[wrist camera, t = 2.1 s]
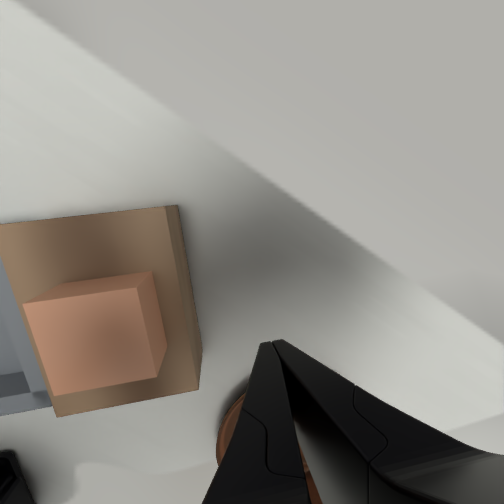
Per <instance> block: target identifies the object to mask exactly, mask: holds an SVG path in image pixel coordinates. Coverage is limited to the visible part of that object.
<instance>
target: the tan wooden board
mask: <svg viewBox="0 0 504 504" xmlns="http://www.w3.org/2000/svg"><path fill="white" fill-rule="evenodd" d="M0 256H1V259H2V262H3V265H4V268H5V271H6V274H7V276H8V279H9V282H10V285H11V288H12V291H13V294H14V296H15V299H16V302H17V305H18V308H19V311H20V314H21V317H22V319H23V322H24V325H25V328H26V331H27V334H28V337H29V339H30V342H31V345H32V348H33V351H34V354H35V357H36V359H37V362H38V365H39V368H40V371H41V374H42V377H43V380H44V382H45V385H46V388H47V391H48V394H49V397H50V400H51V402H52V405H53V408H54V411H55V414H56V417H62V416H68V415H73V414H78V413H83V412H88V411H93V410H98V409H103V408H108V407H114V406H119V405H124V404H129V403H134V402H139V401H144V400H149V399H154V398H160V397H165V396H170V395H175V394H180V393H185V392H190V391H195V390H199V381H200V371H201V361H202V352H203V350H202V344H201V338H200V332H199V326H198V321H197V315H196V309H195V303H194V298H193V292H192V286H191V280H190V275H189V269H188V263H187V257H186V252H185V246H184V240H183V234H182V229H181V223H180V217H179V211H178V205H172V206H163V207H154V208H145V209H136V210H127V211H118V212H109V213H99V214H90V215H81V216H72V217H63V218H54V219H45V220H36V221H27V222H18V223H9V224H0ZM149 271H152V274H153V279H154V284H155V288H156V293H157V298H158V303H159V307H160V312H161V317H162V322H163V327H164V331H165V336H166V341H167V349H166V352H165V355H164V358H163V361H162V364H161V367H160V369H159V372H158V375H157V377H155V378H149V379H144V380H139V381H133V382H128V383H122V384H117V385H112V386H106V387H101V388H96V389H90V390H85V391H80V392H74V393H69V394H63V395H58V396H54V395H53V392H52V389H51V386H50V383H49V380H48V377H47V375H46V372H45V369H44V366H43V363H42V360H41V357H40V354H39V351H38V348H37V345H36V343H35V340H34V337H33V334H32V331H31V328H30V325H29V322H28V319H27V316H26V314H25V311H24V308H23V305H22V304H23V303H25V302H27V301H29V300H31V299H33V298H35V297H36V296H38V295H40V294H42V293H44V292H46V291H48V290H50V289H52V288H54V287H55V286H57V285H59V284H62V283H69V282H77V281H84V280H91V279H98V278H105V277H113V276H120V275H127V274H134V273H141V272H149Z"/></svg>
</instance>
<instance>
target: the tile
mask: <svg viewBox="0 0 504 504" xmlns="http://www.w3.org/2000/svg"><path fill="white" fill-rule="evenodd" d="M22 305H23V308H24V311H25V314H26V316H27V319H28V322H29V325H30V328H31V331H32V334H33V337H34V340H35V343H36V345H37V348H38V351H39V354H40V357H41V360H42V363H43V366H44V369H45V372H46V375H47V377H48V380H49V383H50V386H51V389H52V392H53V395H54V396H58V395H63V394H69V393H74V392H80V391H85V390H90V389H96V388H101V387H106V386H112V385H117V384H122V383H128V382H133V381H139V380H144V379H149V378H155V377H157V375H158V372H159V369H160V367H161V364H162V361H163V358H164V355H165V352H166V349H167V341H166V336H165V331H164V327H163V322H162V317H161V312H160V307H159V303H158V298H157V293H156V288H155V284H154V279H153V274H152V271H149V272H141V273H134V274H127V275H120V276H113V277H105V278H98V279H91V280H84V281H77V282H69V283H62V284H59V285H57V286H55V287H54V288H52V289H50V290H48V291H46V292H44V293H42V294H40V295H38V296H36V297H35V298H33V299H31V300H29V301H27V302H25V303H23V304H22Z"/></svg>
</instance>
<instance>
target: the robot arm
mask: <svg viewBox="0 0 504 504" xmlns="http://www.w3.org/2000/svg"><path fill="white" fill-rule="evenodd" d="M298 442H299V443H298ZM299 444H300V447H301V449H302V452H303V454H304V457H305V460H306V462H307V465H308V467H309V470H310V472H311V475H312V477H313V480H314V482H315V485H316V487H317V490H318V493H319V495H320V498H321V500H322V503H323V504H504V455H500V454H494V453H489V452H486V451H483V450H479V449H476V448H474V447H471V446H469V445H466V444H464V443H462V442H460V441H458V440H456V439H454V438H452V437H450V436H448V435H446V434H444V433H443V432H441V431H439V430H437V429H435V428H433V427H431V426H429V425H427V424H425V423H423V422H421V421H419V420H417V419H415V418H413V417H412V416H410V415H408V414H406V413H404V412H402V411H400V410H398V409H396V408H395V407H393V406H391V405H389V404H387V403H385V402H383V401H382V400H380V399H378V398H377V397H375V396H373V395H372V394H370V393H368V392H367V391H365V390H363V389H362V388H360V387H359V386H357V385H355V384H354V383H352V382H350V381H349V380H347V379H346V378H344V377H342V376H341V375H339V374H338V373H336V372H334V371H333V370H331V369H330V368H328V367H326V366H325V365H323V364H322V363H320V362H318V361H317V360H315V359H314V358H312V357H310V356H309V355H307V354H306V353H304V352H302V351H301V350H299V349H298V348H296V347H294V346H293V345H291V344H290V343H288V342H286V341H285V340H283V339H280V340H274V341H272V342H270V341H269V342H263V343H260V346H259V349H258V352H257V356H256V359H255V362H254V366H253V369H252V372H251V376H250V379H249V382H248V386H247V389H246V393H245V396H244V399H243V403H242V406H241V410H240V412H239V416H238V419H237V422H236V425H235V428H234V431H233V434H232V437H231V439H230V441H229V444H228V446H227V449H226V451H225V453H224V456H223V458H222V460H221V462H220V465H219V467H218V469H217V471H216V473H215V476H214V478H213V480H212V482H211V484H210V487H209V489H208V491H207V494H206V495H205V498H204V500H203V502H202V504H312V502H311V499H310V494H309V490H308V486H307V482H306V476H305V471H304V467H303V462H302V457H301V453H300V448H299ZM0 504H34V502H33V499H32V497H31V495H30V492H29V490H28V487H27V485H26V482H25V480H24V478H23V475H22V473H21V470H20V468H19V466H18V463H17V461H16V458H15V456H14V454H13V453H11V452H1V453H0Z"/></svg>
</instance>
